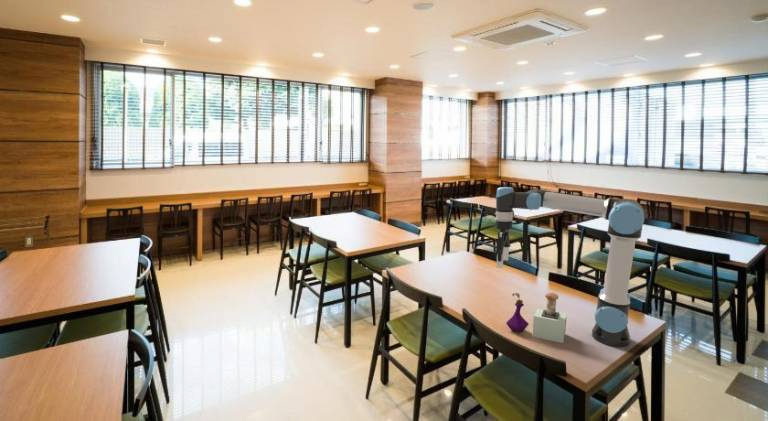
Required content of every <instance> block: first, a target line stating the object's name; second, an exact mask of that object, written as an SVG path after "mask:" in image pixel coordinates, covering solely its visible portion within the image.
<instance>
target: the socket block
mask: <svg viewBox="0 0 768 421" xmlns="http://www.w3.org/2000/svg"><path fill="white" fill-rule="evenodd" d="M567 315H568V314H567V313H565V312H560V311H559V312H558V311H555V317H554V316H549V315H546V309H542V308H536V311H535V312H534V315H533V321H532V322H533V323H532V337H533V338H538V339H542V340H546V341H551V342H554V343H555V342H556V343H560V344H564V341H565V336H566V329H567V328H566V327H567V318H568V317H567Z"/></svg>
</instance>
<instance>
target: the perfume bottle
mask: <svg viewBox="0 0 768 421" xmlns="http://www.w3.org/2000/svg"><path fill="white" fill-rule="evenodd" d="M514 296H516V297H517V298H518V299H516V301H515V303H514V306H515V307H516V308H515V312H514V313H513V315H512V316H511V317H510V318H509V319H508V320H507V321H506V322H505V324H506V326H507V327H509V329H510V330H511V331H512V332H516V333H520V332H523V331H525V330H526V329H527V328H528V326H529V322H528V321H527V320H526V319H525V318H524V317H523V316H522V315H521V309H522V307H524V303H523V302H524V301H523V300H522V299H520V296H521V295H520V293H519V292H513V293H512V297H514Z"/></svg>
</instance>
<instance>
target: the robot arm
mask: <svg viewBox="0 0 768 421" xmlns="http://www.w3.org/2000/svg"><path fill="white" fill-rule="evenodd" d="M495 197H496V198H495V200H496V201H495V212H494V215H495V219H496V220H495V228H496V229H497V230H499V232H498V231H497V232H498V233H497V242H496V243H497V244H496V251H495V252H494V254H495V255H496V268H498V269H503V267H504V261H509V256H510V255H509V252H510V250H509V249H510V248H511V244H510V230H511V229H513V219H514V218H513V217H514V216H513V215H514V214H513V213H514V212H513V211H514V209H520V210H530V211H533V210H535V211H536V210H539V209H540V208H546V209H547V208H548V209H553V210H558V211H565V212H571V213H578V214H584V215H589V216H597V217H602V218H603V219H604V220H607V221H608V227H607V235H608V236H609V237H610V242H609V243H610V244H609V249H608V250H609V251H608V257H607V262H606V271H605V277H604V283H603V284H604V285H603V288H601V289H600V291H599V293H598V295H597V297H598V298H597V303H596V311H595V313H594V321H595V323H594V326H593V328H592V331H591V337H592V338H593V339H594V340H596V341H597V342H599V343H601V344H605V345H607V346H610V347H611V346H612V347H627V346H629V345H630V343H631V335H630V331H629V329H628V328H629V327H628V324H629V314H630V306H631V295H630V293H629V292H628V291H629V285H630V279H631V278H630V277H631V272H632V267H633V265H632V264H633V260H634V253H635V252H634V251H635V246H636V242H637V241H638V240H639V239H641V237H642V233H643V232H642V231H643V227H644V226H643V225H644V223H645V211H644V208H643V206H642V205H641V204H640V203H639V202H637V201H636V200H632V199H629V198H628V199H627V198H626V199H625V198H624V199H623V198H611V197H608V198H607V199H603V198H596V197H588V196H581V195H580V196H579V195H574V194H573V195H572V194H565V193H558V192H553V191H551V192H550V191H544V190H540V189H535V188H533V189H530V190H528V191H526V192H521V191H520V192H518V191H514V187H509V186H500V187H498V188H496V196H495Z"/></svg>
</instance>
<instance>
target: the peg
mask: <svg viewBox="0 0 768 421" xmlns="http://www.w3.org/2000/svg"><path fill="white" fill-rule="evenodd" d="M544 297H545V298H546V305H545V310H546V315H549V316H554V317H555V312H557V311H556V308H557V300H558V299H559V295H558V294H557V293H555V292H546V293H545V295H544Z"/></svg>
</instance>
